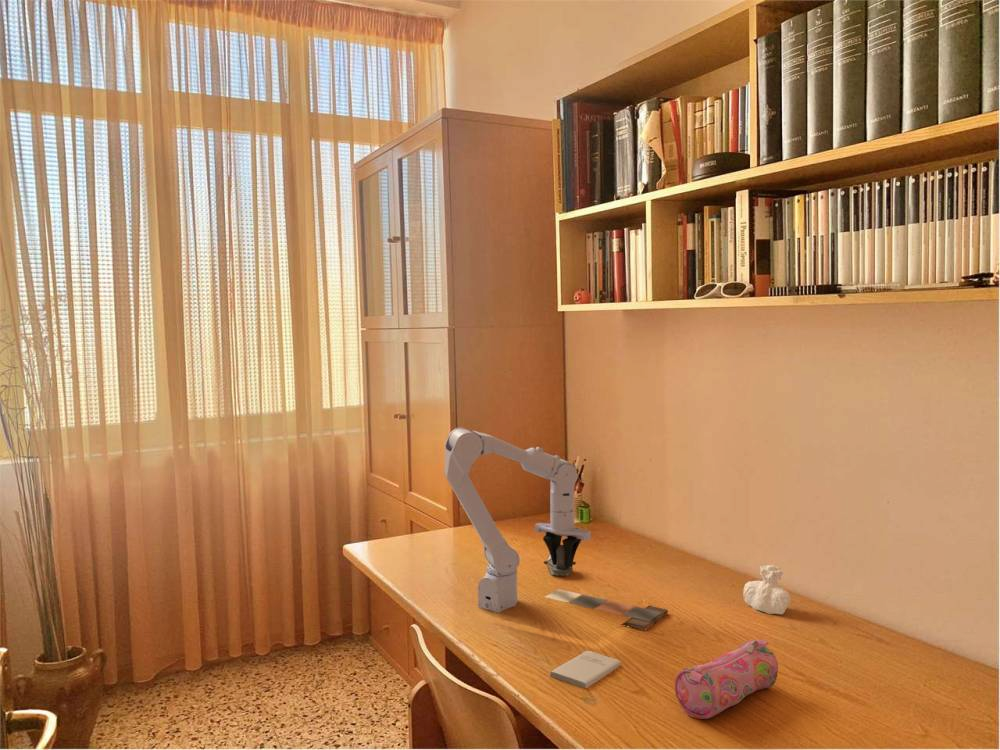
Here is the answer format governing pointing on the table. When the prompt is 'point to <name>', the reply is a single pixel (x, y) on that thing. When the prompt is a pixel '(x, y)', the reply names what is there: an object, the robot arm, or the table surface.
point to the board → (614, 608)
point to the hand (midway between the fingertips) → (562, 565)
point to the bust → (767, 592)
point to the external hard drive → (585, 669)
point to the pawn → (561, 562)
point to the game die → (550, 565)
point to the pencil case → (726, 679)
